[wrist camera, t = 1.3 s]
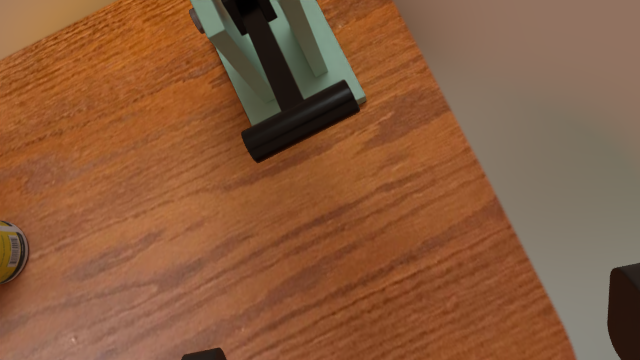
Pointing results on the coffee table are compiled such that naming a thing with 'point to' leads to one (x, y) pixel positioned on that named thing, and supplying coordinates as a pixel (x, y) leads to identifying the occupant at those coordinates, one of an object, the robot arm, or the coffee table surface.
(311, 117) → the lever
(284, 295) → the coffee table surface
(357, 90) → the bracket
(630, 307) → the robot arm
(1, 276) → the supplement bottle
